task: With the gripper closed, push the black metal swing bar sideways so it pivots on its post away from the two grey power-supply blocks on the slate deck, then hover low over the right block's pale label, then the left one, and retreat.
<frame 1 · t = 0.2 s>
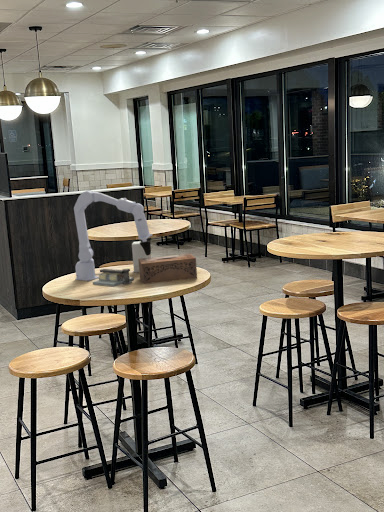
hand: (148, 253, 319), 10 cm above the table, tool pointing down, fingers open, 7 cm apart
supplement box: (143, 270, 333), on the table
tissue box cover: (168, 279, 308), on the table
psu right: (118, 282, 306), resting on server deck
swing bar: (115, 270, 305), point 6 cm above the table, hinge at 0.0°
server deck: (113, 282, 307), on the table
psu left: (107, 281, 310), resting on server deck
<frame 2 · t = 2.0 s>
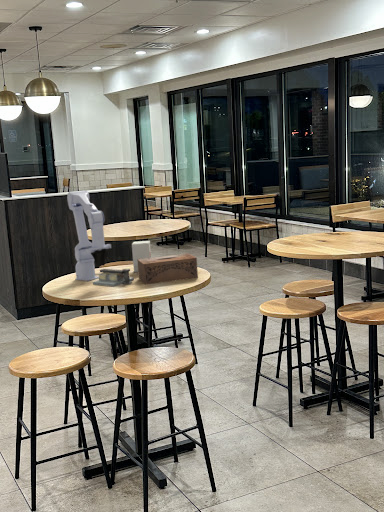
hand: (100, 265, 301), 9 cm above the table, tool pointing down, fingers closed
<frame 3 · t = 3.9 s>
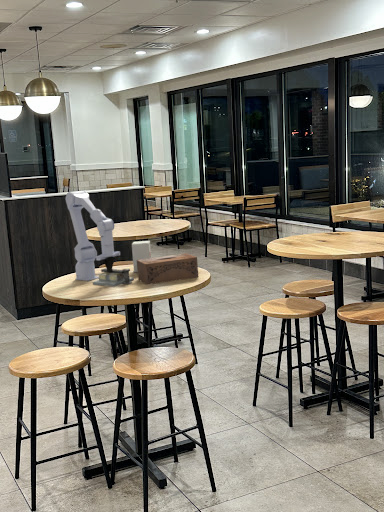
hand: (109, 272, 306), 5 cm above the table, tool pointing down, fingers closed, pressing on swing bar
swing bar: (115, 270, 306), point 6 cm above the table, hinge at 3.4°, touching gripper
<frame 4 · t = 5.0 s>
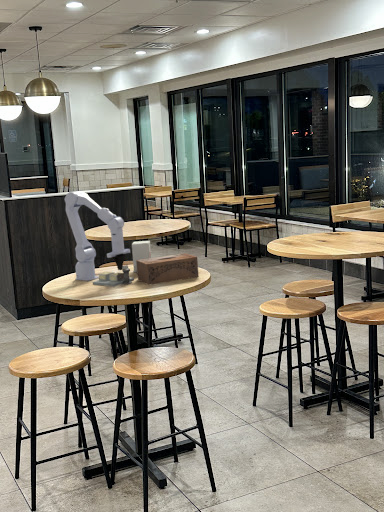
hand: (120, 269, 312), 5 cm above the table, tool pointing down, fingers closed, pressing on swing bar
swing bar: (125, 268, 308), point 6 cm above the table, hinge at 45.4°, touching gripper
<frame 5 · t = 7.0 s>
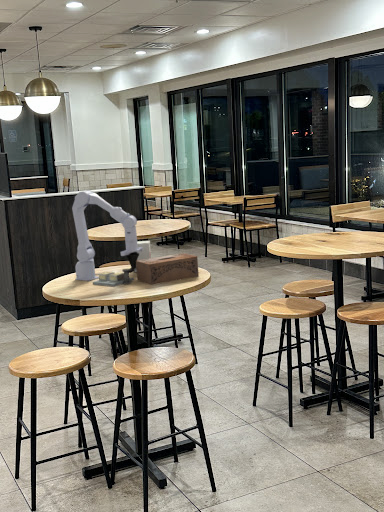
hand: (133, 268, 314), 5 cm above the table, tool pointing down, fingers closed
swing bar: (133, 268, 308), point 6 cm above the table, hinge at 75.0°, touching gripper
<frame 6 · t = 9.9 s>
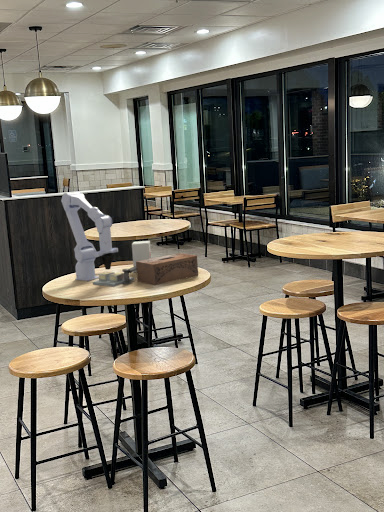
hand: (107, 269, 308), 6 cm above the table, tool pointing down, fingers closed
swing bar: (133, 268, 308), point 6 cm above the table, hinge at 75.0°
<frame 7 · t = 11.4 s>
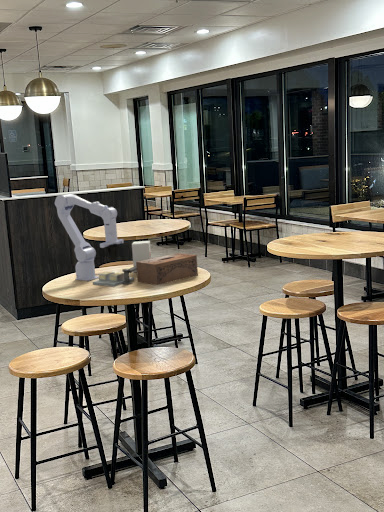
hand: (113, 259, 313), 10 cm above the table, tool pointing down, fingers closed
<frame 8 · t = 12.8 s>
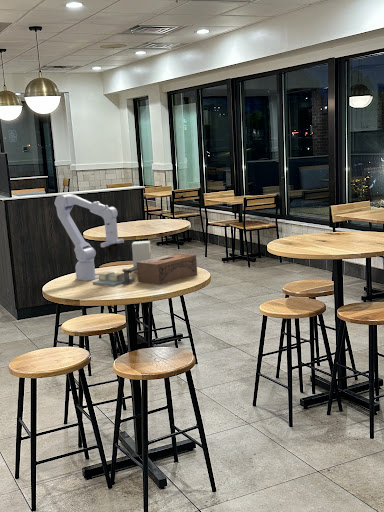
hand: (114, 259, 313), 10 cm above the table, tool pointing down, fingers closed
at the end: swing bar at +75° (first picture: +0°); swing bar touching nothing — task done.
